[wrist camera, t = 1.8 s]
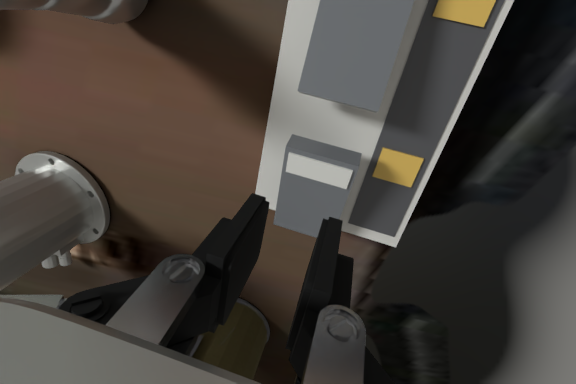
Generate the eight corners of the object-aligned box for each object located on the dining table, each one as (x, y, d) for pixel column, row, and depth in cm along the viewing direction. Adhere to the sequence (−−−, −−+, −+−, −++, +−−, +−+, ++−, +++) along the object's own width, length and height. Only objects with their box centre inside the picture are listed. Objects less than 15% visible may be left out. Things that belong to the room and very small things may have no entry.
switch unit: (392, 222, 30) (396, 254, 26) (266, 185, 31) (249, 208, 27) (610, -260, 15) (703, -376, 11) (356, -288, 17) (351, -400, 13)
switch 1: (375, 112, 20) (378, 111, 18) (301, 93, 20) (296, 90, 19) (420, -27, 18) (428, -43, 16) (336, -45, 18) (335, -62, 17)
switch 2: (334, 228, 27) (330, 243, 25) (279, 211, 27) (272, 225, 26) (361, 153, 21) (358, 168, 20) (292, 134, 22) (285, 147, 20)
